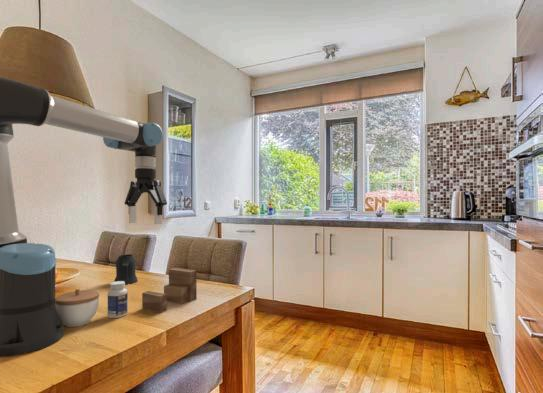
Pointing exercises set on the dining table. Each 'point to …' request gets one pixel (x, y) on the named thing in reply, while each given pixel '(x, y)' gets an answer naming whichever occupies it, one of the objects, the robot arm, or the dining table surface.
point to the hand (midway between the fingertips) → (145, 223)
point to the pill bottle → (117, 300)
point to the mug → (126, 269)
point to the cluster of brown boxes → (172, 291)
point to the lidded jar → (77, 307)
